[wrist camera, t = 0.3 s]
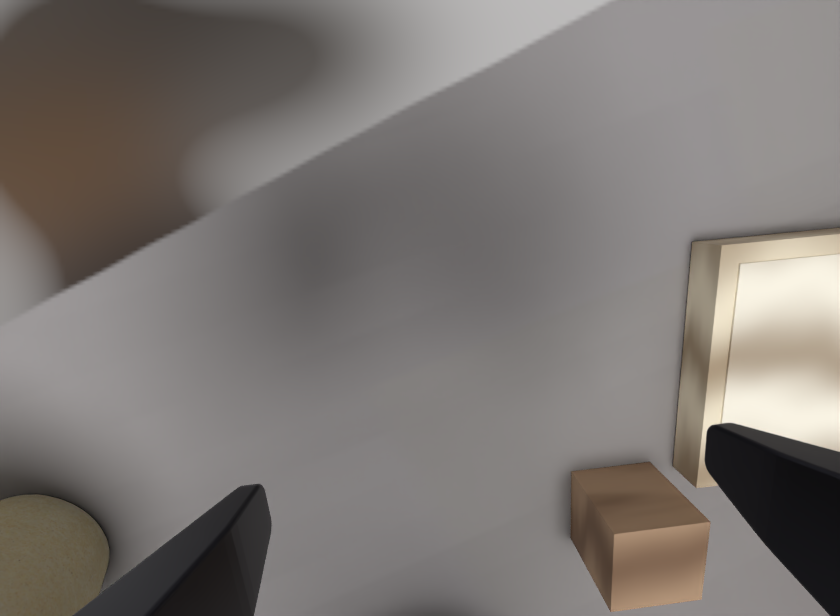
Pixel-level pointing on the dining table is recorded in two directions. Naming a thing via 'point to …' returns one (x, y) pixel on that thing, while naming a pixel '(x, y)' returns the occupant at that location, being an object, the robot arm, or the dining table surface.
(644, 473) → the cube
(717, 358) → the board
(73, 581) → the plant pot
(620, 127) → the dining table surface
